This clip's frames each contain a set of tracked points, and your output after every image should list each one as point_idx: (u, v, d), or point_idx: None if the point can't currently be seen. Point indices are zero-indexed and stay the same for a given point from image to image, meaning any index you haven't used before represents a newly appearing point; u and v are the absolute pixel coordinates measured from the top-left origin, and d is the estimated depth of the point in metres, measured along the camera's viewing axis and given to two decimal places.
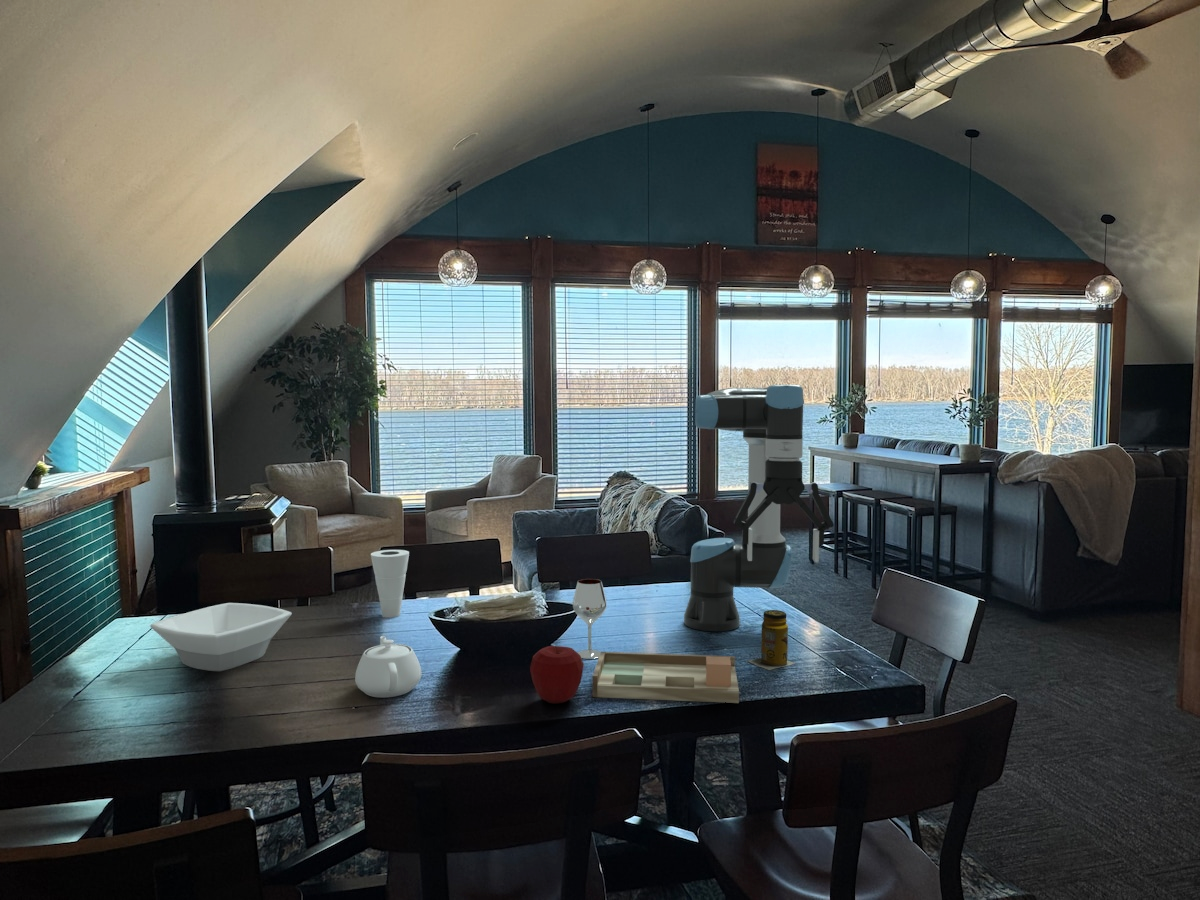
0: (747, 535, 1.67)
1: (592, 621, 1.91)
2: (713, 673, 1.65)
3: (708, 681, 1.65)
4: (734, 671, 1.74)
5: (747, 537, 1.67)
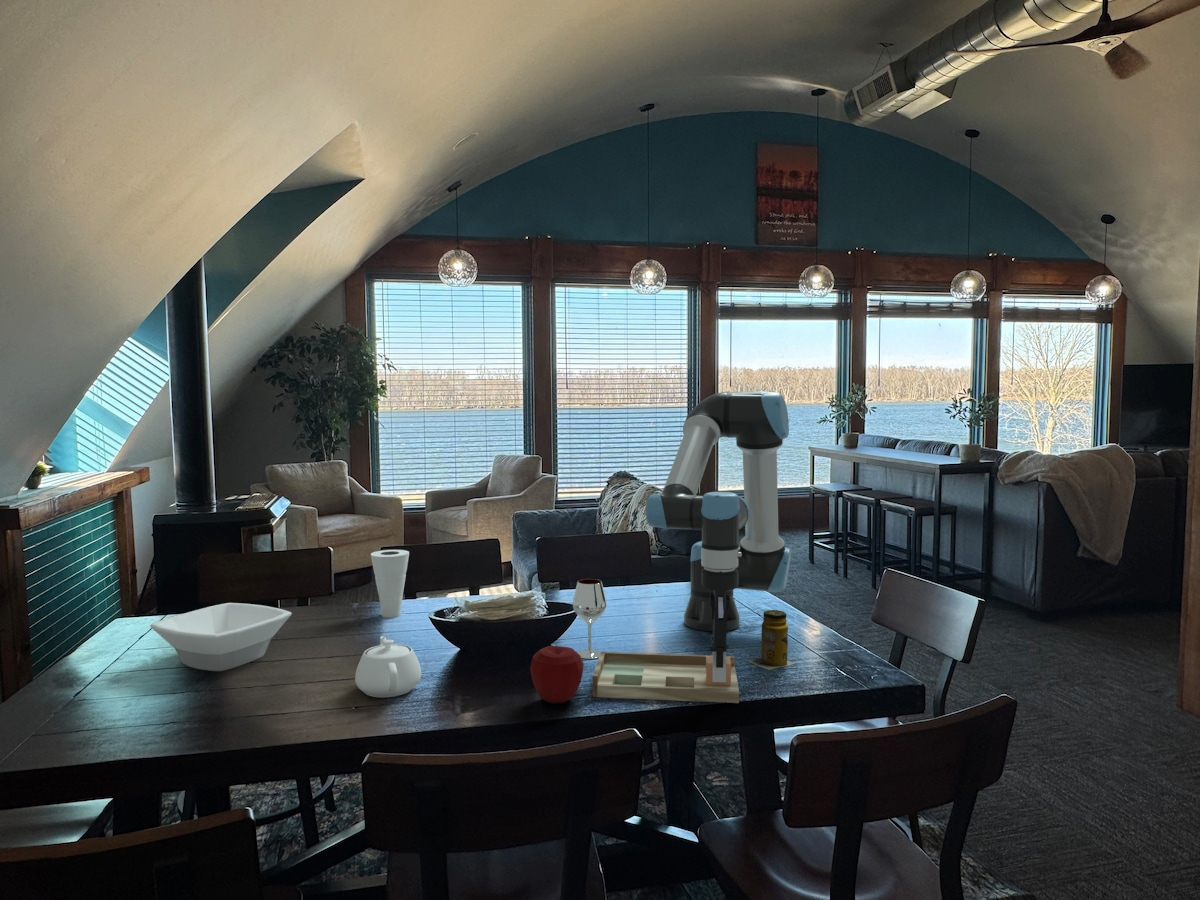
0: (723, 657, 1.64)
1: (592, 621, 1.91)
2: None
3: (708, 680, 1.66)
4: (734, 671, 1.74)
5: (723, 659, 1.64)
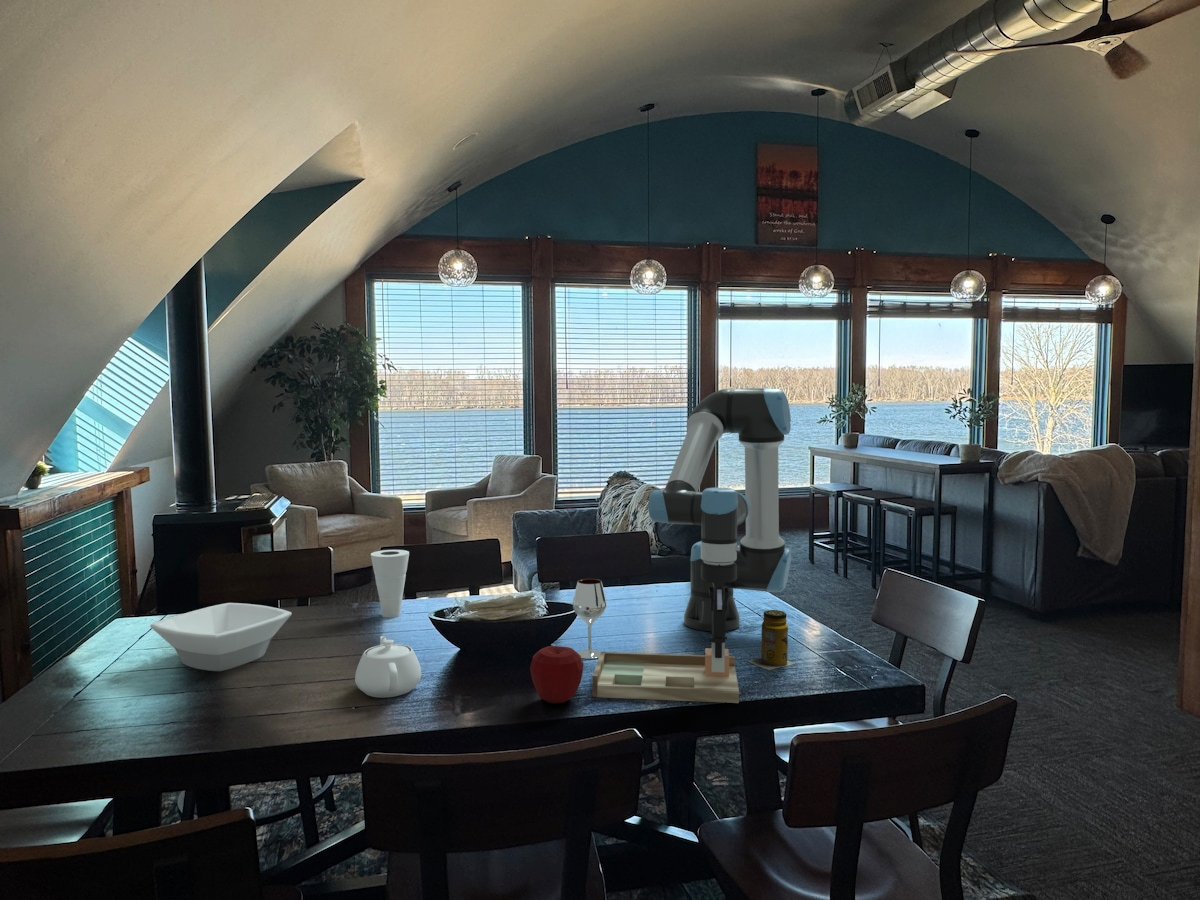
0: (721, 648, 1.69)
1: (592, 621, 1.91)
2: None
3: (707, 672, 1.71)
4: (734, 671, 1.74)
5: (722, 650, 1.69)
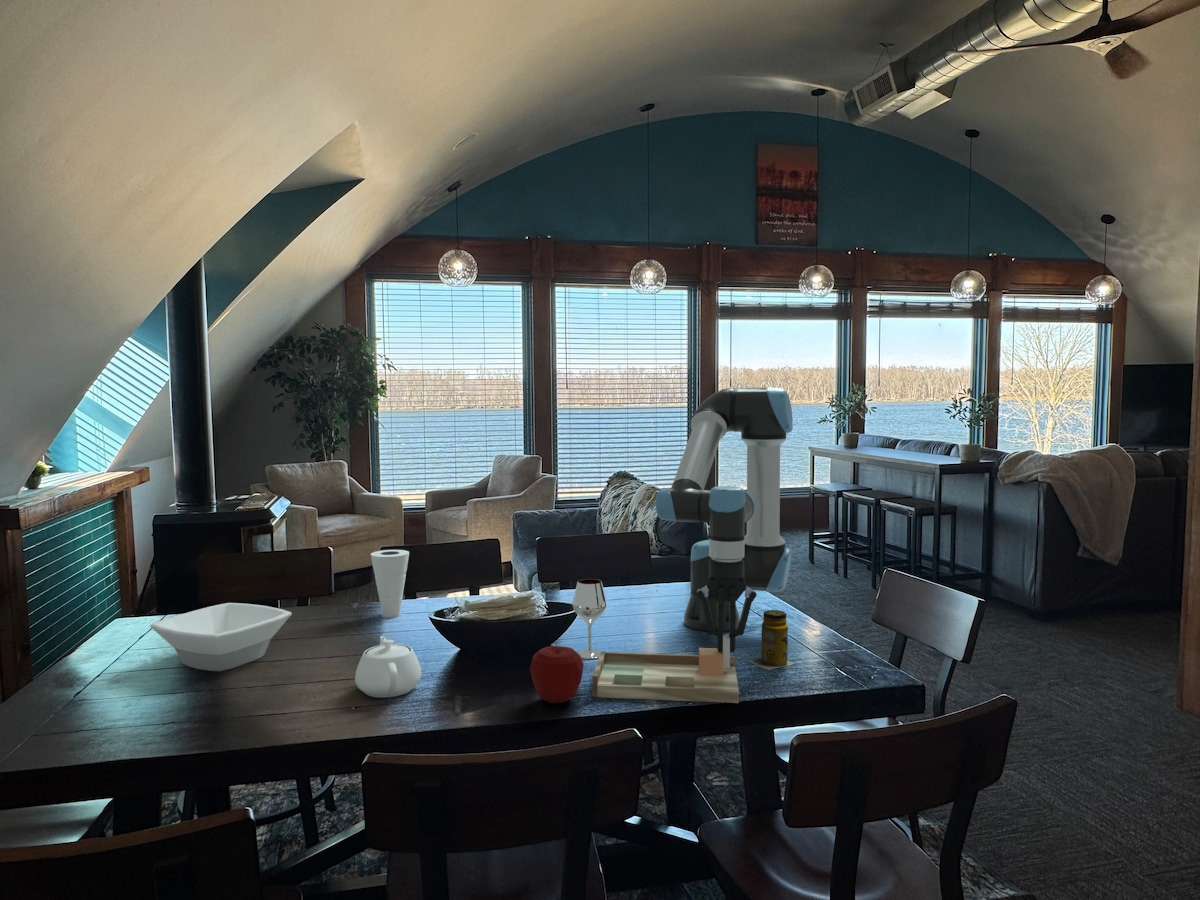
0: None
1: (592, 621, 1.91)
2: (706, 663, 1.71)
3: (701, 671, 1.71)
4: (734, 671, 1.74)
5: None
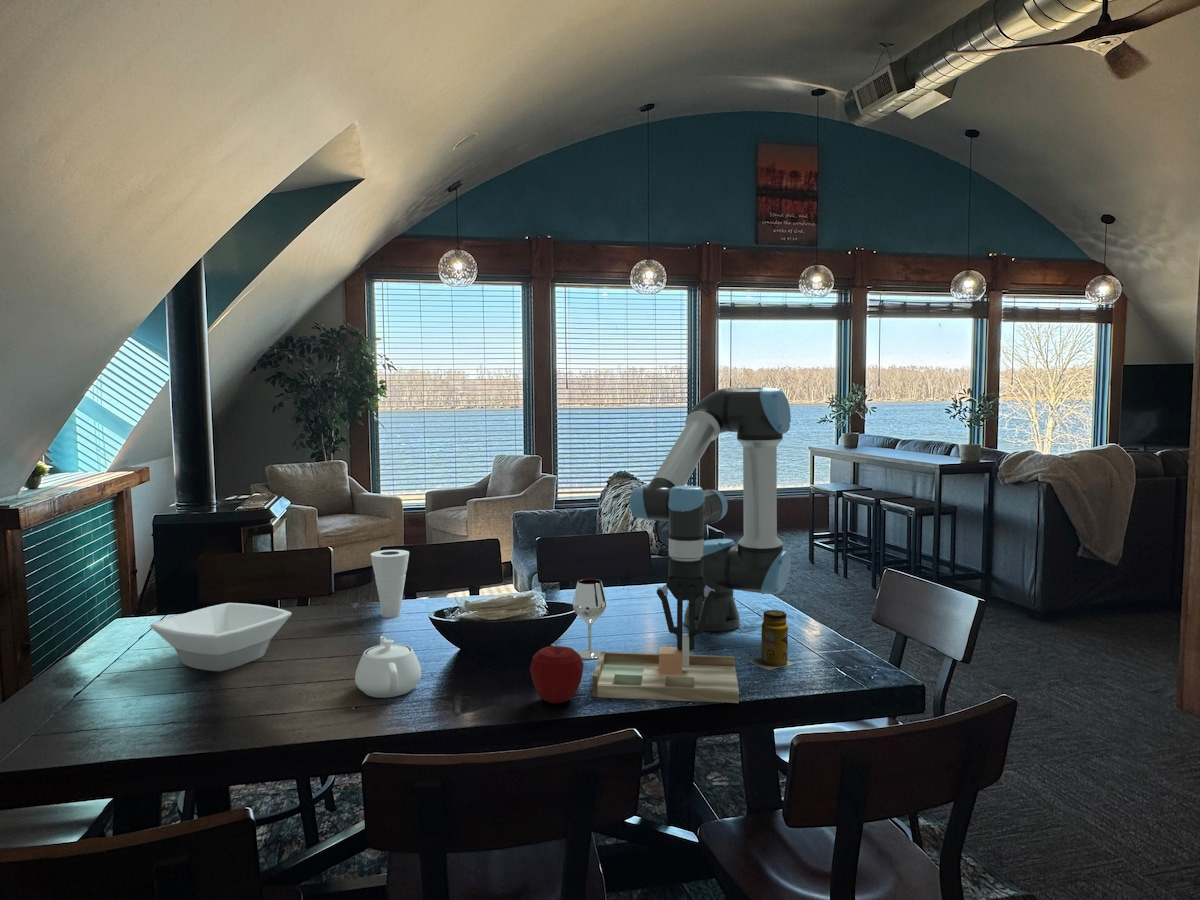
0: None
1: (592, 621, 1.91)
2: (665, 662, 1.72)
3: (660, 670, 1.72)
4: (734, 671, 1.74)
5: None
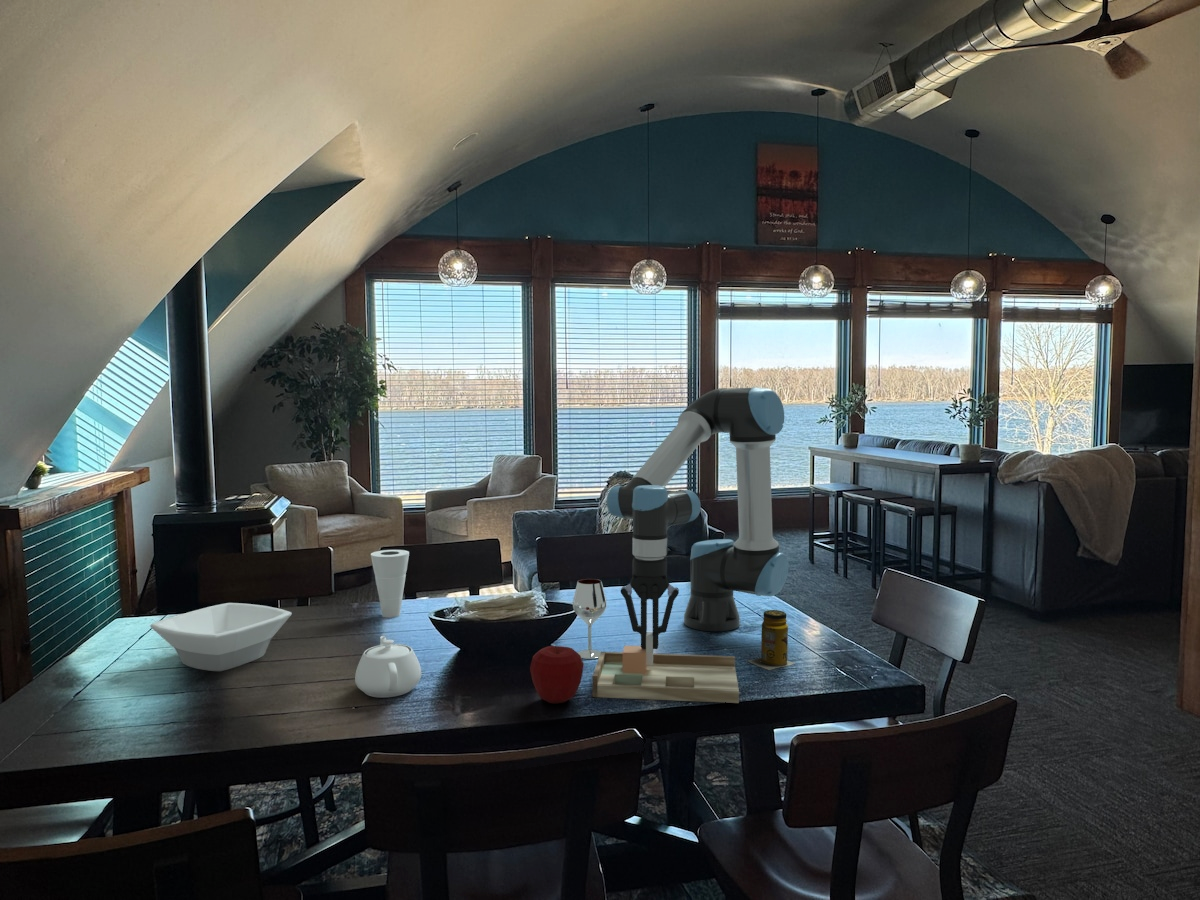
0: None
1: (592, 621, 1.91)
2: (629, 661, 1.73)
3: (624, 669, 1.73)
4: (734, 671, 1.74)
5: None
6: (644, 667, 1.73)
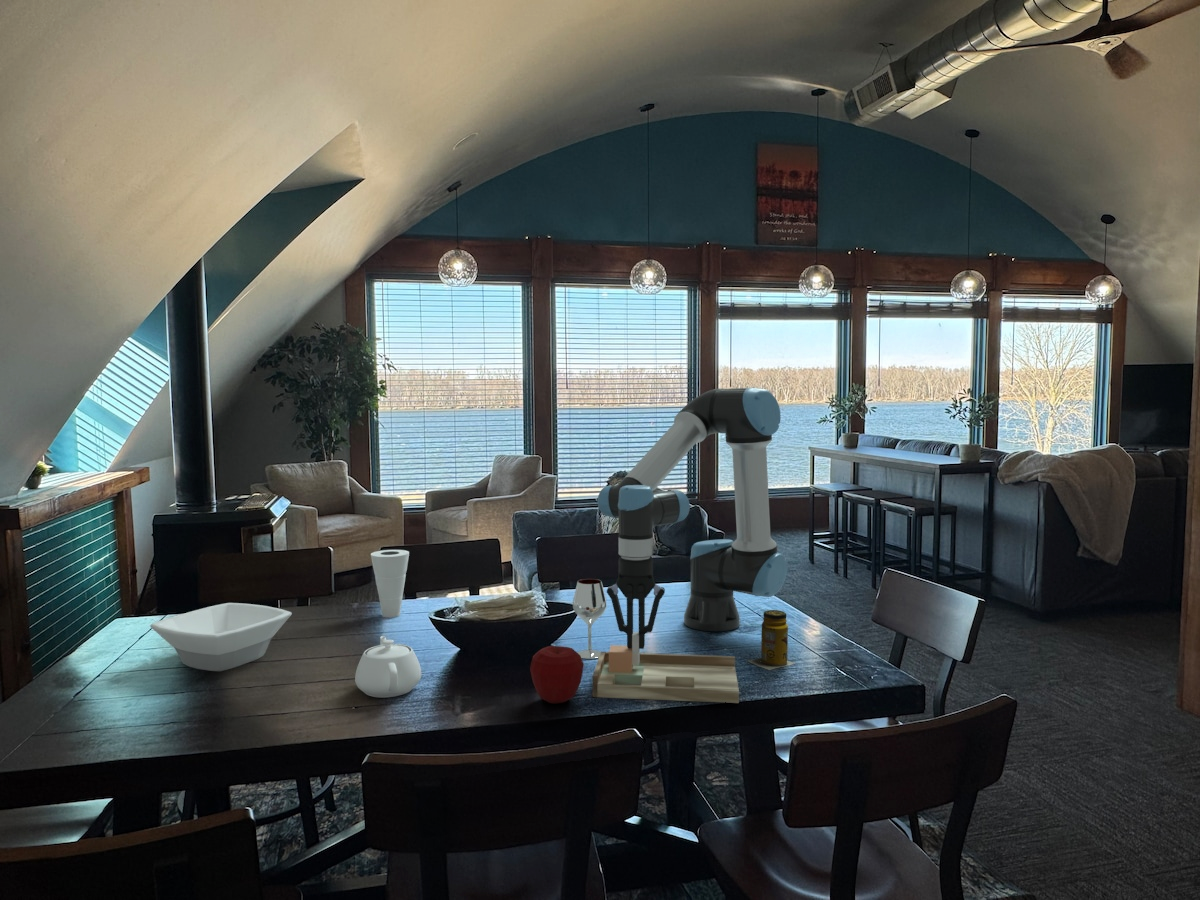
0: None
1: (592, 621, 1.91)
2: (615, 660, 1.73)
3: (610, 668, 1.73)
4: (734, 671, 1.74)
5: None
6: (630, 667, 1.73)
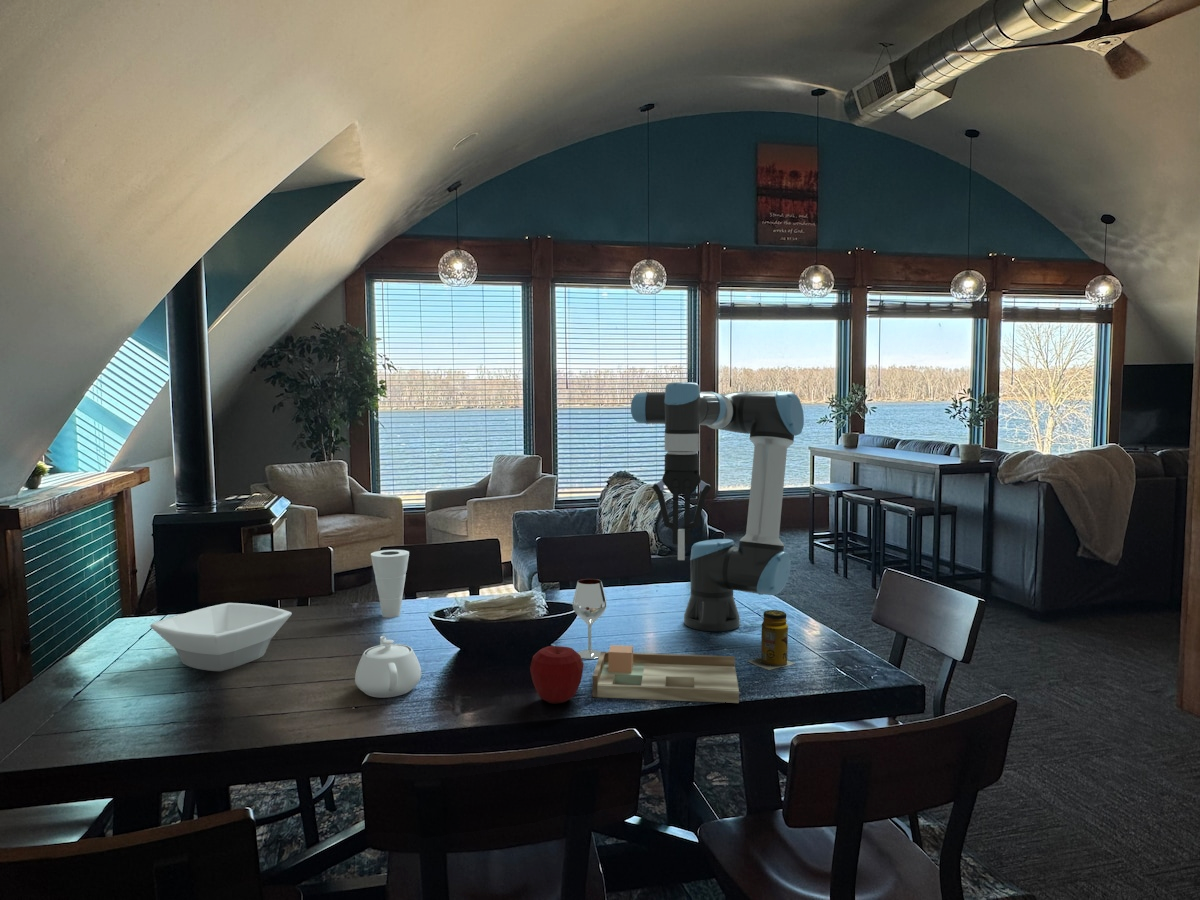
0: None
1: (592, 621, 1.91)
2: (615, 660, 1.73)
3: (610, 668, 1.73)
4: (734, 671, 1.74)
5: None
6: (630, 667, 1.73)
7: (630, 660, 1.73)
